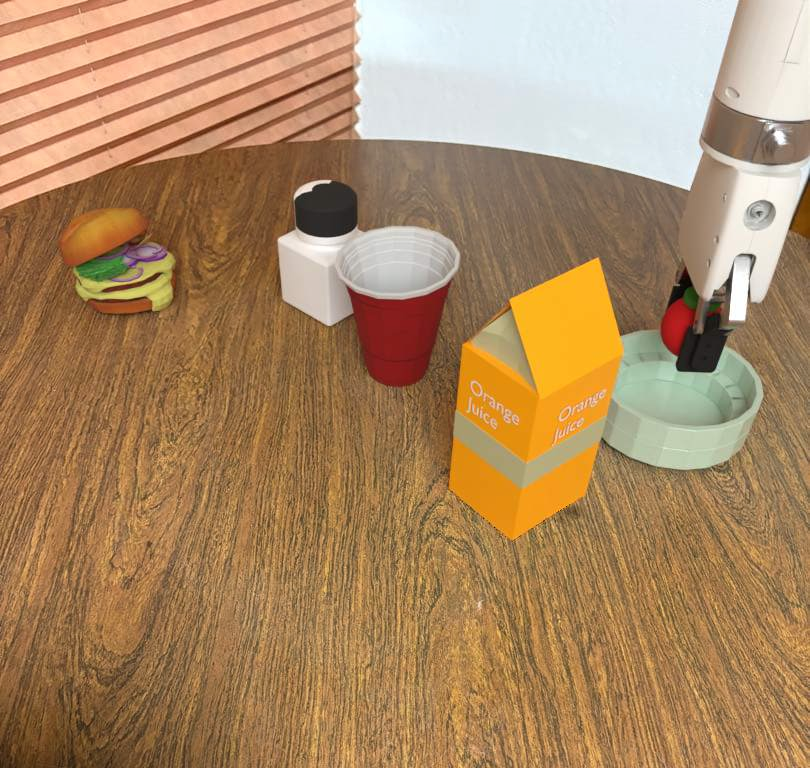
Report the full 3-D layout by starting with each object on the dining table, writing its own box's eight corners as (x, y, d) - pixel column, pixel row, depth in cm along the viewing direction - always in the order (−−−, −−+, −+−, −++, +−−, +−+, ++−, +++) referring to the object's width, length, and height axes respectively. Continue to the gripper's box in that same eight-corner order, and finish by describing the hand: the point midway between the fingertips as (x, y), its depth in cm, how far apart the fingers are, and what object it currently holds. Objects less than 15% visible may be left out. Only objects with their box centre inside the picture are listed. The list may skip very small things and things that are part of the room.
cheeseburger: (136, 335, 84) (93, 237, 78) (67, 323, 90) (21, 231, 83) (203, 287, 90) (168, 192, 84) (135, 279, 96) (97, 189, 89)
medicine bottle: (377, 300, 90) (378, 189, 81) (329, 328, 86) (324, 215, 77) (329, 275, 93) (325, 165, 84) (281, 301, 89) (271, 189, 80)
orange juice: (446, 489, 71) (466, 274, 57) (521, 445, 75) (558, 233, 60) (512, 544, 68) (553, 328, 53) (588, 495, 71) (645, 281, 57)
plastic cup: (320, 352, 84) (313, 238, 75) (418, 325, 87) (423, 213, 78) (368, 418, 77) (367, 301, 68) (471, 386, 81) (484, 271, 72)
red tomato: (676, 328, 75) (694, 271, 71) (727, 355, 73) (749, 297, 69) (641, 352, 73) (658, 293, 68) (693, 380, 70) (714, 321, 66)
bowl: (645, 354, 85) (658, 311, 81) (773, 424, 78) (793, 380, 75) (554, 417, 78) (563, 372, 74) (686, 499, 72) (704, 454, 68)
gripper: (856, 187, 53) (757, 416, 67) (780, 82, 65) (708, 295, 78) (736, 183, 53) (661, 412, 67) (681, 78, 65) (626, 292, 78)
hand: (687, 347), depth 72 cm, fingers closed on red tomato, 5 cm apart
